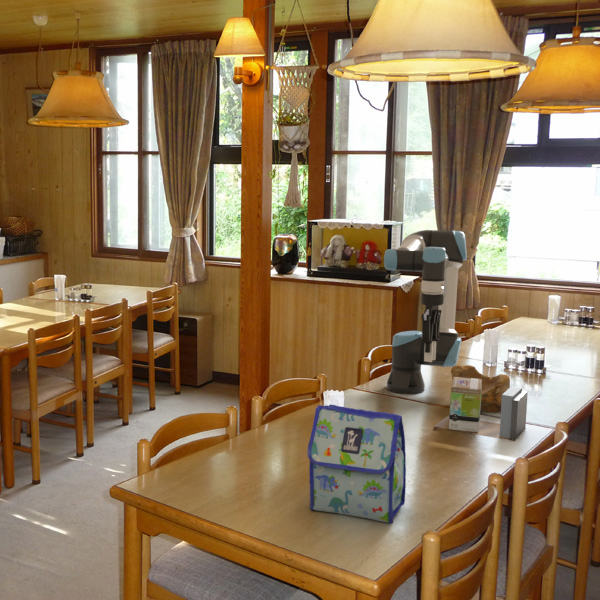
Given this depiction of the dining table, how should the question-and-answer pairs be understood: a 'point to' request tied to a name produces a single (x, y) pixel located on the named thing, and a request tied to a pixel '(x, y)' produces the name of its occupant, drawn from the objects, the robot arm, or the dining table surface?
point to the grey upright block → (507, 410)
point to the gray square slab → (518, 415)
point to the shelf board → (484, 429)
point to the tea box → (465, 404)
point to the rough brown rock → (485, 387)
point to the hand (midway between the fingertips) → (429, 360)
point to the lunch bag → (357, 463)
